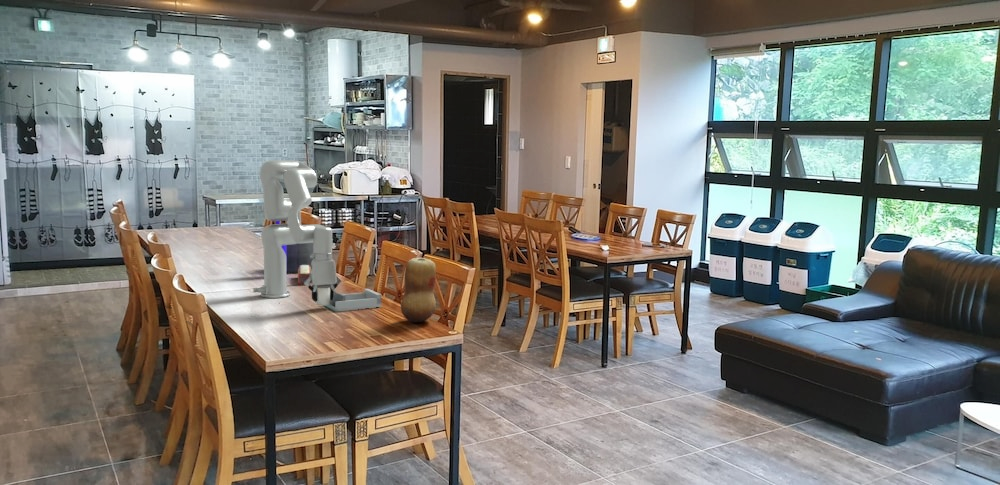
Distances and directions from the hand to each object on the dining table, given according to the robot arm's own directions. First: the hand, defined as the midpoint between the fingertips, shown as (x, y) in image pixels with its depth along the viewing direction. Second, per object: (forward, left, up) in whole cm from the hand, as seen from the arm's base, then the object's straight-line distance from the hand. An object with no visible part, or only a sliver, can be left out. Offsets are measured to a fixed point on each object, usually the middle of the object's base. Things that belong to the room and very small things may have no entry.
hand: (322, 299), depth 315 cm
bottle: (+6, +80, -4) cm, 80 cm away
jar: (0, 0, -2) cm, 2 cm away
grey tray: (+13, 0, -4) cm, 14 cm away
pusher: (+13, 0, -4) cm, 14 cm away
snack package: (+14, +63, -4) cm, 65 cm away
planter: (+20, +94, -4) cm, 96 cm away
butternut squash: (+25, -37, -4) cm, 45 cm away
